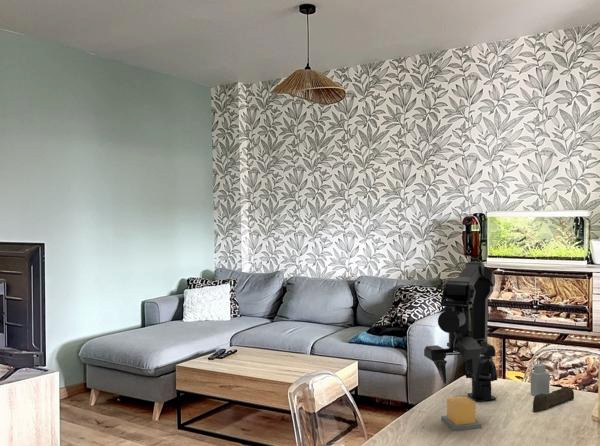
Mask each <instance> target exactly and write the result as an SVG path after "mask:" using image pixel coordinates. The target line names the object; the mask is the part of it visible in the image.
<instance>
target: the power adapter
mask: <svg viewBox="0 0 600 446" xmlns="http://www.w3.org/2000/svg"><path fill="white" fill-rule="evenodd" d="M540 360H541V363H539V358H538V357H536V363H534V364H533V371H530V395H531V396H532V397H535V396H536V395H539V394H541V393H542V394H549V393H550V372H549V371H546V369H547V368H546V365H547V364H546V363H543V361H544V360H543V356H541V359H540Z"/></svg>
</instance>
